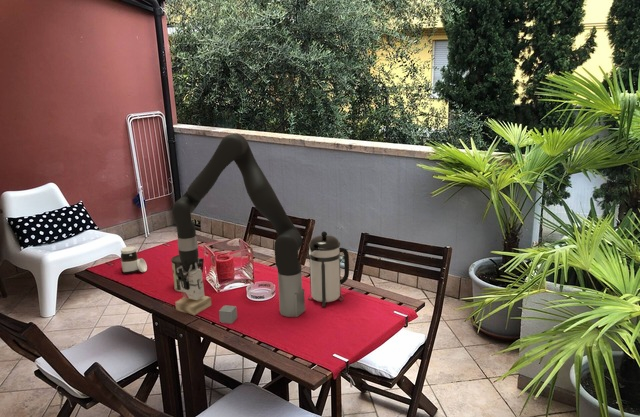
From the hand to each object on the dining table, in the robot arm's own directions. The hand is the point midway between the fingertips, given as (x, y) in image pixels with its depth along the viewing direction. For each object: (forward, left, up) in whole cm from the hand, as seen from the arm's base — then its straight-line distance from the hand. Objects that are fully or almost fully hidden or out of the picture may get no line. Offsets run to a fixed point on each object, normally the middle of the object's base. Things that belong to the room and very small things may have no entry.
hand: (192, 286), depth 207 cm
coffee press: (-45, -32, -9) cm, 56 cm away
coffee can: (+18, -14, -9) cm, 25 cm away
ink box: (0, 0, -5) cm, 5 cm away
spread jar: (+55, -17, -10) cm, 58 cm away
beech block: (0, 0, -10) cm, 10 cm away
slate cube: (-20, +2, -9) cm, 22 cm away
